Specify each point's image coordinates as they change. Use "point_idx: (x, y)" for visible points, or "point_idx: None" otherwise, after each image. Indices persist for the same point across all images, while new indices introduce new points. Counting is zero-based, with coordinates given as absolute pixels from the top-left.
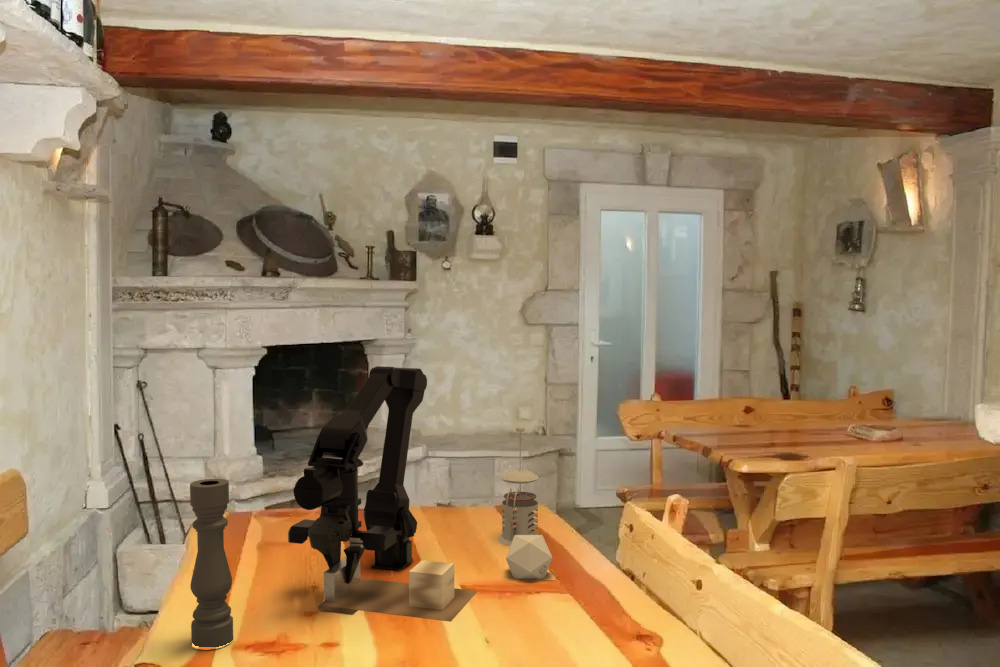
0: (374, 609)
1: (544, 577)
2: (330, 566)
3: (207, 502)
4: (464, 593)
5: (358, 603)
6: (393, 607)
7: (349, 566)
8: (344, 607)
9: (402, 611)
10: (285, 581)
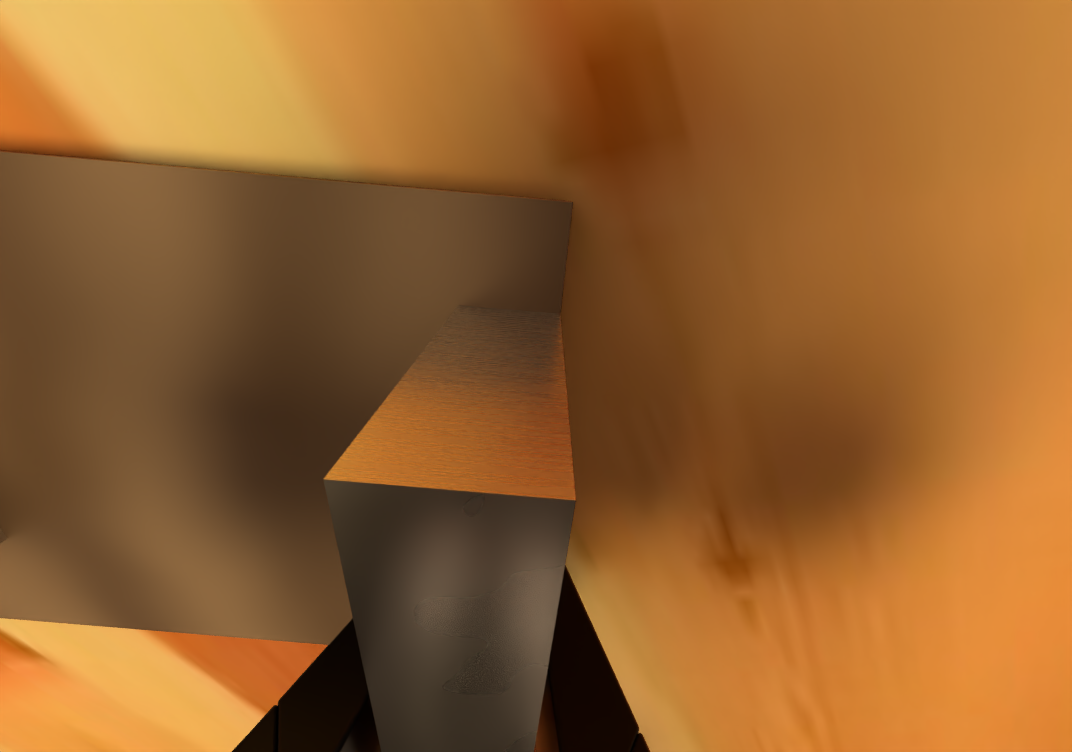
0: (18, 209)
1: None
2: (598, 708)
3: None
4: None
5: (250, 316)
6: None
7: (300, 720)
8: (300, 196)
9: None
10: (928, 600)
